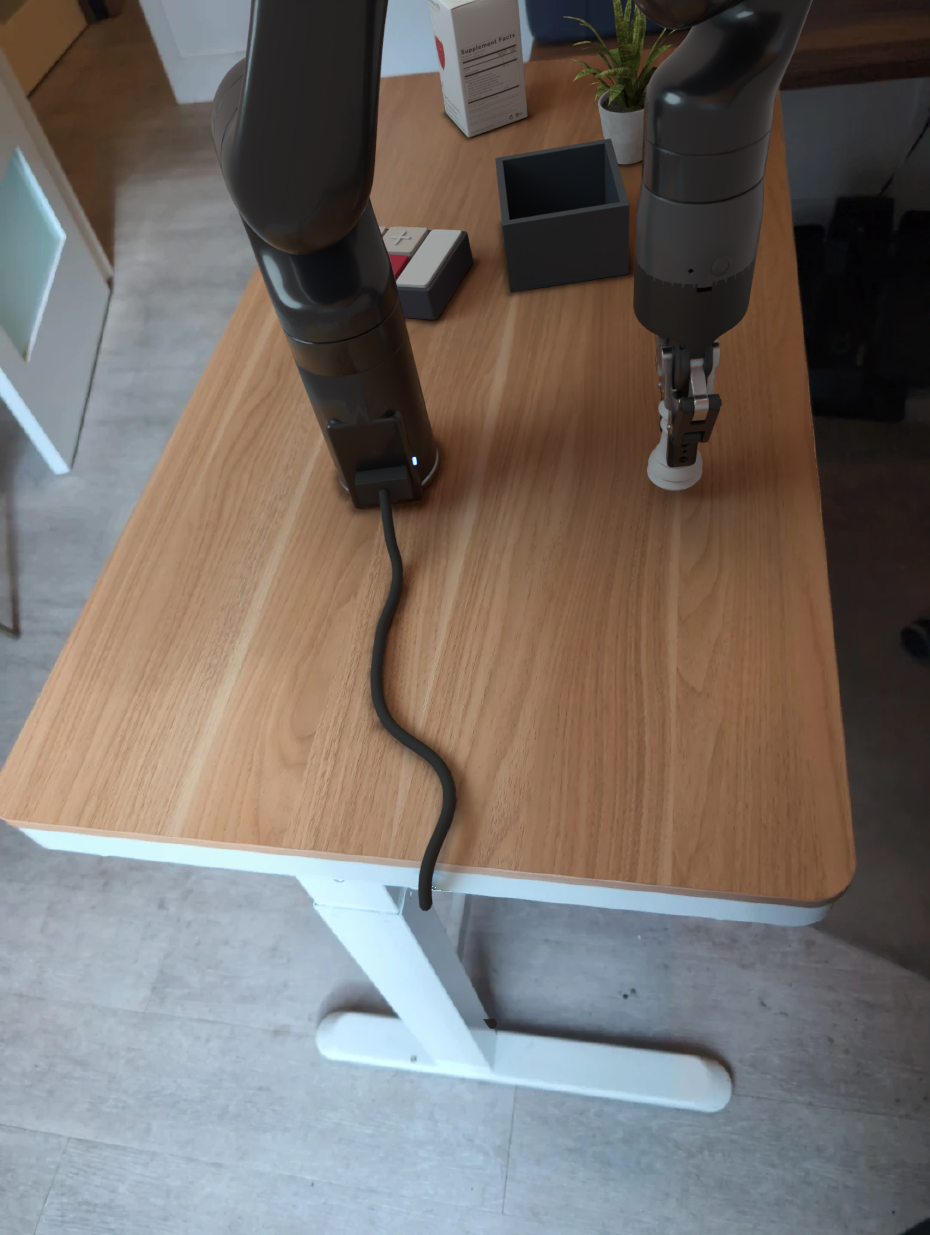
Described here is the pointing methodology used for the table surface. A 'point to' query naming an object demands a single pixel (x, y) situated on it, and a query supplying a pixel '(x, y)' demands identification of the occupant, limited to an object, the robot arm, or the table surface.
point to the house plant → (624, 83)
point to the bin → (563, 215)
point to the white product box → (480, 62)
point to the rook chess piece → (666, 475)
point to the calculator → (427, 266)
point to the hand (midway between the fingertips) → (676, 446)
